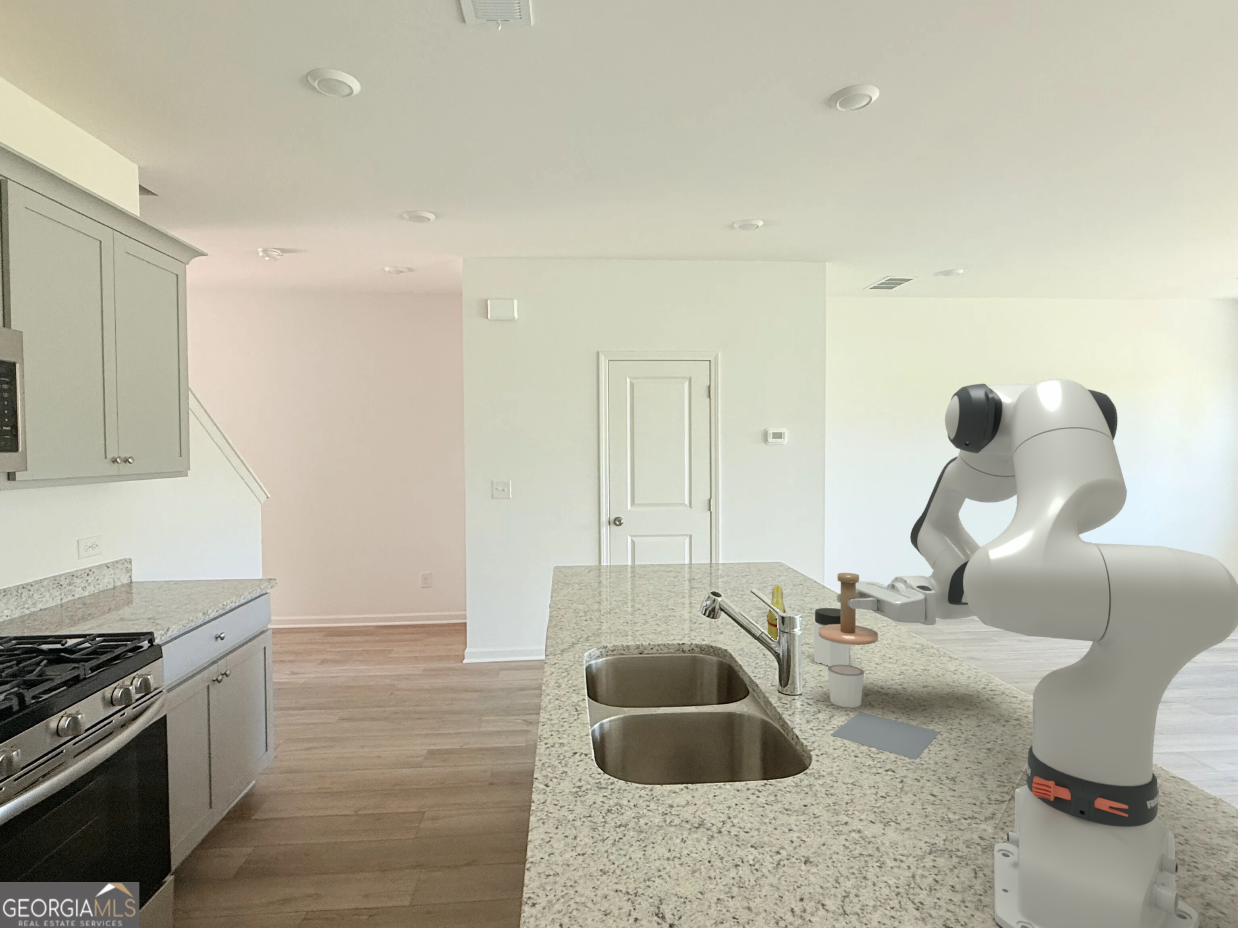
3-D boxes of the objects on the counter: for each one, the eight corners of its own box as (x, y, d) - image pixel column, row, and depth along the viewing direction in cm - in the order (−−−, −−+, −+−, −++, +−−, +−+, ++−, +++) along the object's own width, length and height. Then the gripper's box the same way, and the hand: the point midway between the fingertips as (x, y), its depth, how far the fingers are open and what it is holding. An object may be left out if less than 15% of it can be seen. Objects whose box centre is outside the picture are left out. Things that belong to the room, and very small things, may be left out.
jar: (849, 669, 150) (849, 617, 150) (812, 664, 154) (812, 613, 154) (851, 658, 159) (852, 609, 159) (816, 654, 162) (817, 606, 162)
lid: (865, 648, 121) (866, 582, 121) (809, 637, 128) (809, 575, 128) (886, 635, 129) (886, 574, 129) (831, 625, 136) (832, 567, 136)
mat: (915, 762, 104) (915, 759, 104) (830, 738, 113) (830, 734, 113) (939, 735, 115) (939, 731, 115) (860, 714, 124) (860, 711, 124)
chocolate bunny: (766, 646, 168) (766, 588, 168) (767, 635, 179) (767, 581, 179) (793, 649, 166) (794, 590, 166) (793, 637, 177) (793, 582, 177)
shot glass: (866, 712, 125) (867, 676, 125) (829, 709, 126) (829, 673, 126) (861, 699, 131) (861, 665, 131) (825, 697, 133) (825, 662, 133)
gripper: (879, 573, 141) (819, 575, 138) (941, 593, 121) (871, 596, 118) (879, 602, 141) (819, 604, 139) (940, 627, 121) (871, 630, 118)
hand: (843, 600), depth 128 cm, fingers closed on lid, 3 cm apart
